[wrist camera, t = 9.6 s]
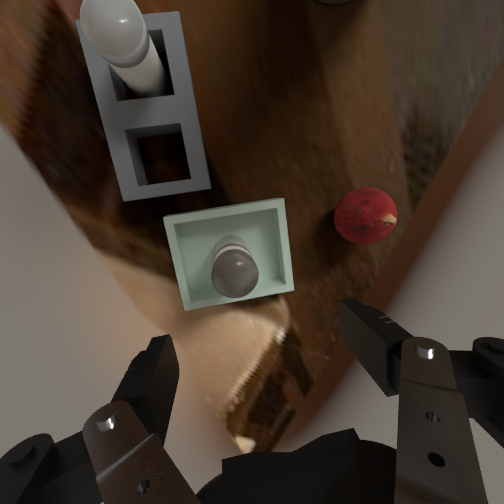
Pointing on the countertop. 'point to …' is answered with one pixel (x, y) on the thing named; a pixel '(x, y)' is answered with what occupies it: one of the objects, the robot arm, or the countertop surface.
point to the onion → (365, 215)
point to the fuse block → (150, 113)
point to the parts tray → (218, 226)
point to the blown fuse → (233, 268)
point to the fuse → (125, 45)
